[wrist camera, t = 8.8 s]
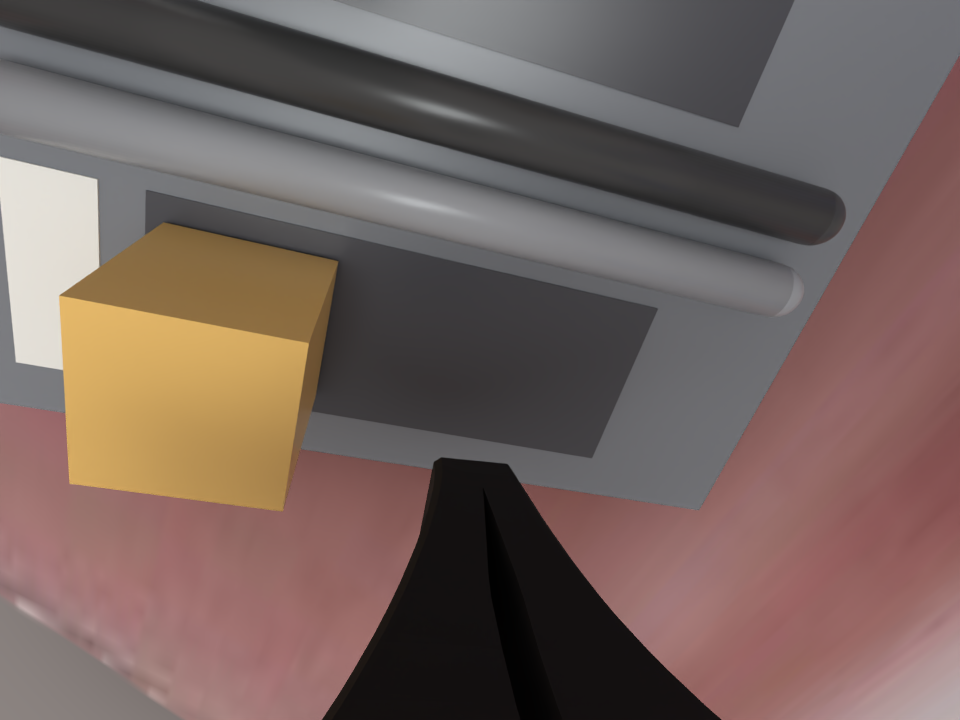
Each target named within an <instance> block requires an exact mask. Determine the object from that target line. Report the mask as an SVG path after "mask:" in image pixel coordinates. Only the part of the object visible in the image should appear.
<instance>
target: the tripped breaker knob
mask: <svg viewBox="0 0 960 720" xmlns="http://www.w3.org/2000/svg"><path fill="white" fill-rule="evenodd" d="M337 267H338V261H335V260H331V259H326V258H322V257H317V256H313V255H308V254H304V253H299V252H295V251H290V250H286V249H281V248H277V247H272V246H268V245H263V244H259V243H254V242H250V241H245V240H241V239H236V238H232V237H227V236H223V235H218V234H214V233H209V232H205V231H200V230H196V229H191V228H187V227H182V226H178V225H173V224H169V223H164V222H163V223H162V224H160V225H159V226H158V227H156V228H155V229H153V230H152V231H150V232H149V233H148V234H146V235H145V236H143V237H142V238H140V239H139V240H138V241H136V242H135V243H133V244H132V245H130V246H129V247H128V248H126V249H125V250H123V251H122V252H120V253H119V254H118V255H116V256H115V257H113V258H112V259H110V260H109V261H108V262H106V263H105V264H103V265H102V266H100V267H99V268H98V269H96V270H95V271H93V272H92V273H90V274H89V275H88V276H86V277H85V278H83V279H82V280H80V281H79V282H78V283H76V284H75V285H73V286H72V287H70V288H69V289H68V290H66V291H65V292H63V293H62V294H60V295H59V305H60V323H61V340H62V358H63V376H64V393H65V411H66V428H67V446H68V464H69V481H70V484H77V485H85V486H92V487H100V488H108V489H115V490H123V491H131V492H138V493H146V494H153V495H161V496H169V497H176V498H184V499H192V500H199V501H207V502H214V503H222V504H230V505H237V506H245V507H253V508H260V509H268V510H275V511H283V509H284V505H285V502H286V498H287V495H288V491H289V488H290V484H291V481H292V477H293V474H294V470H295V467H296V463H297V460H298V456H299V453H300V449H301V446H302V442H303V439H304V435H305V432H306V428H307V425H308V421H309V418H310V414H311V411H312V407H313V404H314V400H315V397H316V391H317V385H318V379H319V373H320V367H321V361H322V356H323V350H324V344H325V338H326V332H327V326H328V320H329V314H330V308H331V302H332V296H333V290H334V285H335V279H336V273H337Z"/></svg>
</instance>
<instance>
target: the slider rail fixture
mask: <svg viewBox="0 0 960 720" xmlns="http://www.w3.org/2000/svg"><path fill="white" fill-rule="evenodd" d="M959 55H960V0H0V403H4V404H10V405H17V406H24V407H30V408H37V409H43V410H50V411H56V412H63V413H66V411H65V393H64V376H63V358H62V340H61V323H60V305H59V295H60V294H62V293H63V292H65V291H66V290H68V289H69V288H70V287H72V286H73V285H75V284H76V283H78V282H79V281H80V280H82V279H83V278H85V277H86V276H88V275H89V274H90V273H92V272H93V271H95V270H96V269H98V268H99V267H100V266H102V265H103V264H105V263H106V262H108V261H109V260H110V259H112V258H113V257H115V256H116V255H118V254H119V253H120V252H122V251H123V250H125V249H126V248H128V247H129V246H130V245H132V244H133V243H135V242H136V241H138V240H139V239H140V238H142V237H143V236H145V235H146V234H148V233H149V232H150V231H152V230H153V229H155V228H156V227H158V226H159V225H160V224H162V223H163V222H164V223H169V224H173V225H178V226H182V227H187V228H191V229H196V230H200V231H205V232H209V233H214V234H218V235H223V236H227V237H232V238H236V239H241V240H245V241H250V242H254V243H259V244H263V245H268V246H272V247H277V248H281V249H286V250H290V251H295V252H299V253H304V254H308V255H313V256H317V257H322V258H326V259H331V260H335V261H338V267H337V273H336V279H335V285H334V290H333V296H332V302H331V308H330V314H329V320H328V326H327V332H326V338H325V344H324V350H323V356H322V361H321V367H320V373H319V379H318V385H317V391H316V397H315V400H314V404H313V407H312V411H311V414H310V418H309V421H308V425H307V428H306V432H305V435H304V439H303V442H302V446H301V449H303V450H310V451H316V452H323V453H329V454H336V455H342V456H349V457H355V458H362V459H368V460H375V461H381V462H388V463H394V464H401V465H407V466H414V467H420V468H427V469H433V463H434V461H436V460H438V459H439V458H441V457H444V458H454V459H464V460H475V461H485V462H495V463H505V464H508V465H509V466H510V468H511V469H512V471H513V472H514V474H515V475H516V477H517V479H518V480H519V482H520V483H525V484H531V485H538V486H544V487H551V488H557V489H564V490H570V491H577V492H583V493H590V494H596V495H603V496H609V497H616V498H622V499H629V500H635V501H642V502H648V503H655V504H661V505H668V506H674V507H681V508H687V509H694V510H699V509H700V508H701V506H702V504H703V502H704V501H705V499H706V497H707V495H708V494H709V492H710V490H711V488H712V487H713V485H714V483H715V481H716V480H717V478H718V476H719V474H720V473H721V471H722V469H723V467H724V466H725V464H726V462H727V460H728V459H729V457H730V455H731V453H732V452H733V450H734V448H735V447H736V445H737V443H738V441H739V440H740V438H741V436H742V434H743V433H744V431H745V429H746V427H747V426H748V424H749V422H750V420H751V419H752V417H753V415H754V413H755V412H756V410H757V408H758V406H759V405H760V403H761V401H762V399H763V398H764V396H765V394H766V392H767V391H768V389H769V387H770V385H771V384H772V382H773V380H774V378H775V377H776V375H777V373H778V371H779V370H780V368H781V366H782V364H783V363H784V361H785V359H786V357H787V356H788V354H789V352H790V350H791V349H792V347H793V345H794V343H795V342H796V340H797V338H798V336H799V335H800V333H801V331H802V329H803V328H804V326H805V324H806V322H807V321H808V319H809V317H810V315H811V314H812V312H813V310H814V309H815V307H816V305H817V303H818V302H819V300H820V298H821V296H822V295H823V293H824V291H825V289H826V288H827V286H828V284H829V282H830V281H831V279H832V277H833V275H834V274H835V272H836V270H837V268H838V267H839V265H840V263H841V261H842V260H843V258H844V256H845V254H846V253H847V251H848V249H849V247H850V246H851V244H852V242H853V240H854V239H855V237H856V235H857V233H858V232H859V230H860V228H861V226H862V225H863V223H864V221H865V219H866V218H867V216H868V214H869V212H870V211H871V209H872V207H873V205H874V204H875V202H876V200H877V198H878V197H879V195H880V193H881V191H882V190H883V188H884V186H885V184H886V183H887V181H888V179H889V177H890V176H891V174H892V172H893V171H894V169H895V167H896V165H897V164H898V162H899V160H900V158H901V157H902V155H903V153H904V151H905V150H906V148H907V146H908V144H909V143H910V141H911V139H912V137H913V136H914V134H915V132H916V130H917V129H918V127H919V125H920V123H921V122H922V120H923V118H924V116H925V115H926V113H927V111H928V109H929V108H930V106H931V104H932V102H933V101H934V99H935V97H936V95H937V94H938V92H939V90H940V88H941V87H942V85H943V83H944V81H945V80H946V78H947V76H948V74H949V73H950V71H951V69H952V67H953V66H954V64H955V62H956V60H957V59H958V57H959Z"/></svg>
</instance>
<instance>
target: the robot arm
mask: <svg viewBox="0 0 960 720" xmlns="http://www.w3.org/2000/svg"><path fill="white" fill-rule="evenodd" d="M322 720H721V719H720V718H719V717H718V716H717V715H715V714H714V713H713V712H712V711H711V710H710V709H709V708H707V707H706V706H705V705H704V704H703V703H702V702H701V701H700V700H699V699H698V698H697V697H696V696H695V695H694V694H693V693H691V692H690V691H689V690H688V689H687V688H686V687H685V686H684V685H683V684H682V683H681V682H680V681H679V680H678V679H677V678H676V677H675V676H673V675H672V674H671V673H670V672H669V671H668V670H667V669H666V668H665V667H664V666H663V665H662V664H661V663H660V662H659V661H658V660H657V659H656V658H655V657H654V656H653V655H652V654H651V653H650V652H649V651H648V650H647V649H646V647H645V646H644V645H643V644H642V643H641V642H640V641H639V640H638V639H637V638H636V637H635V636H634V634H633V633H632V632H631V631H630V630H629V629H628V628H627V627H626V626H625V625H624V624H623V623H622V621H621V620H620V619H619V618H618V617H617V616H616V615H615V614H614V612H613V611H612V610H611V609H610V608H609V607H608V605H607V604H606V603H605V602H604V601H603V599H602V598H601V597H600V596H599V594H598V593H597V592H596V591H595V589H594V588H593V587H592V586H591V584H590V583H589V582H588V580H587V579H586V578H585V577H584V575H583V574H582V573H581V571H580V570H579V569H578V567H577V566H576V565H575V563H574V562H573V561H572V559H571V558H570V557H569V555H568V554H567V552H566V551H565V550H564V548H563V547H562V545H561V544H560V543H559V541H558V540H557V538H556V537H555V535H554V534H553V533H552V531H551V530H550V528H549V527H548V525H547V524H546V522H545V521H544V519H543V518H542V516H541V515H540V513H539V512H538V510H537V509H536V507H535V506H534V504H533V503H532V501H531V499H530V498H529V496H528V495H527V493H526V491H525V490H524V488H523V487H522V485H521V483H520V482H519V480H518V479H517V477H516V475H515V474H514V472H513V471H512V469H511V468H510V466H509V465H508V464H505V463H495V462H485V461H475V460H464V459H454V458H444V457H441V458H439V459H438V460H436V461H434V463H433V469H432V474H431V479H430V484H429V489H428V494H427V500H426V505H425V510H424V515H423V520H422V526H421V531H420V535H419V538H418V541H417V544H416V546H415V549H414V551H413V554H412V556H411V558H410V561H409V563H408V565H407V568H406V570H405V572H404V575H403V577H402V580H401V582H400V584H399V586H398V588H397V590H396V592H395V595H394V597H393V599H392V601H391V603H390V605H389V607H388V609H387V611H386V613H385V615H384V617H383V618H382V620H381V622H380V624H379V626H378V628H377V630H376V632H375V634H374V635H373V637H372V639H371V641H370V642H369V644H368V646H367V648H366V649H365V651H364V653H363V655H362V656H361V658H360V660H359V662H358V663H357V665H356V667H355V669H354V670H353V672H352V674H351V675H350V677H349V679H348V680H347V682H346V684H345V685H344V687H343V688H342V690H341V692H340V693H339V695H338V696H337V698H336V699H335V701H334V702H333V704H332V705H331V707H330V708H329V710H328V711H327V713H326V715H325V716H324V718H323V719H322Z"/></svg>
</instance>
